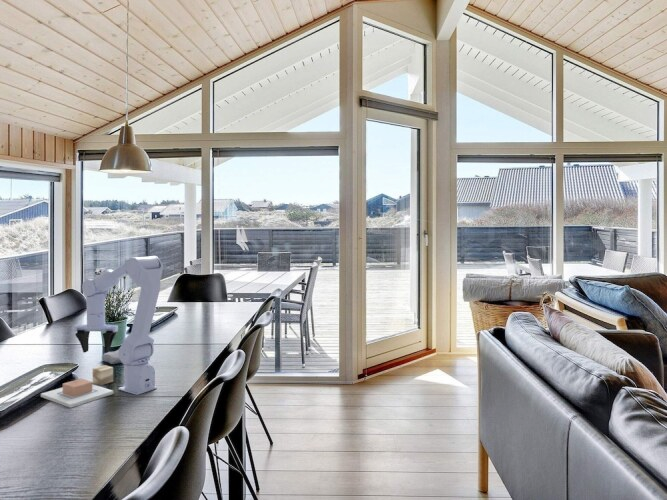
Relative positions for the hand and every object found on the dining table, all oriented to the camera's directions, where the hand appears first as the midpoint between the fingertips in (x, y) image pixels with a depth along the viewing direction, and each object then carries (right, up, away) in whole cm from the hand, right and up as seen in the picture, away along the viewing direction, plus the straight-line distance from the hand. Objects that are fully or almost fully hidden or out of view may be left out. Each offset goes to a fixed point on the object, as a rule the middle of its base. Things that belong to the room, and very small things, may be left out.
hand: (96, 352), depth 168 cm
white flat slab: (+2, -10, -15) cm, 19 cm away
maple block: (+4, -10, -3) cm, 11 cm away
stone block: (-1, -9, +24) cm, 25 cm away
